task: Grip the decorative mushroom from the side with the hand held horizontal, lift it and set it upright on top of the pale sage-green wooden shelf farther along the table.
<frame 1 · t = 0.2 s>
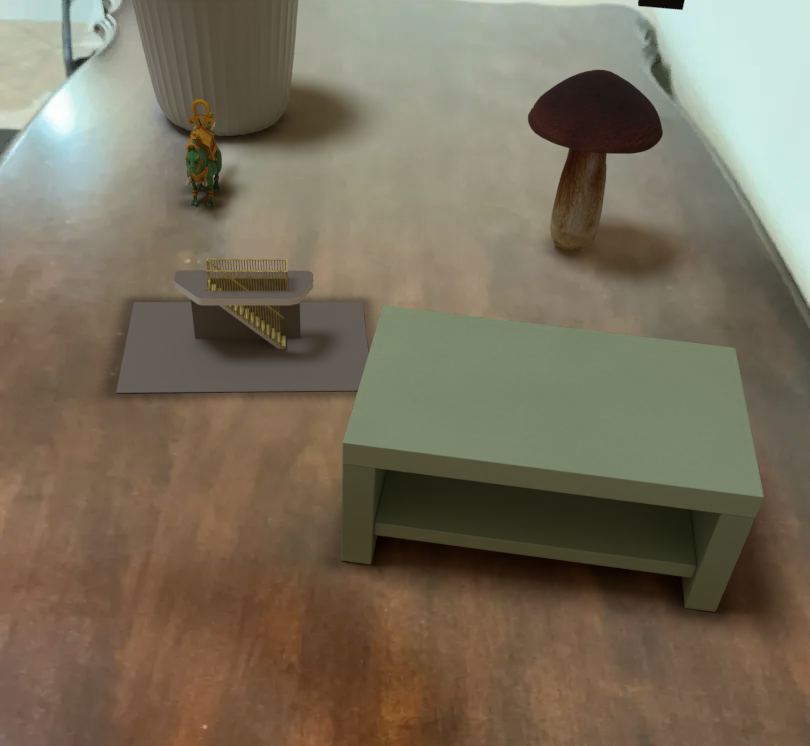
shelf: (531, 507, 62), on the table
decorative mushroom: (570, 250, 87), on the table
canister: (224, 119, 103), on the table
platform: (248, 346, 73), on the table
figurine: (207, 192, 91), on the table
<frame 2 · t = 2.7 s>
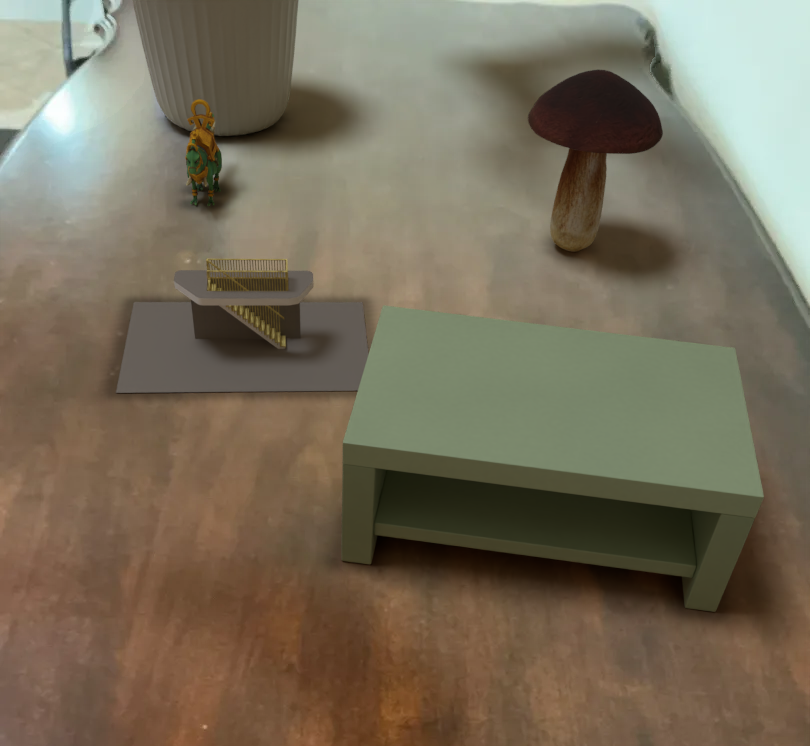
nothing on the table moved.
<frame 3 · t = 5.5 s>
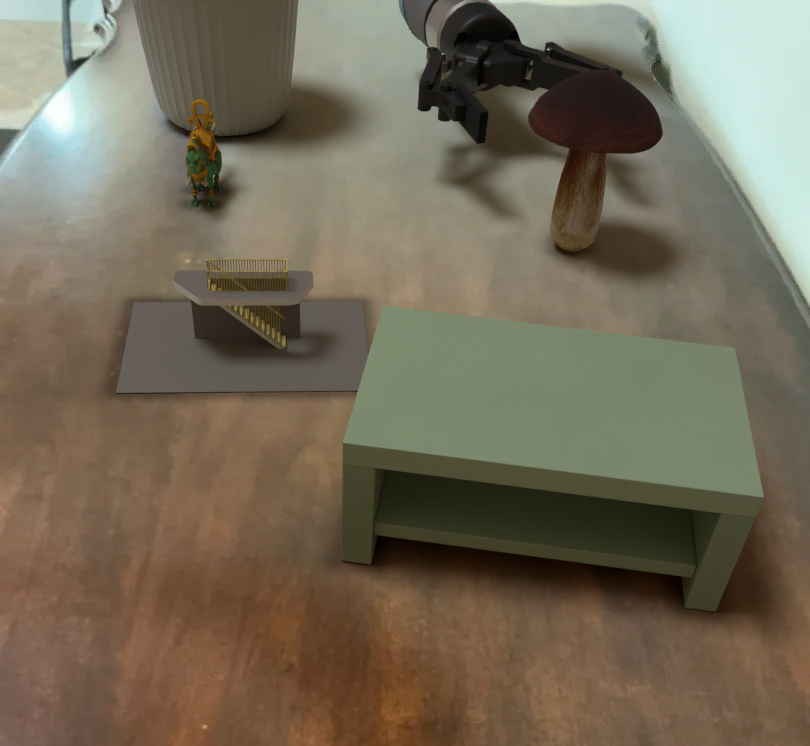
hand: (555, 123, 85), 8 cm above the table, tool horizontal, fingers open, 13 cm apart
nothing on the table moved.
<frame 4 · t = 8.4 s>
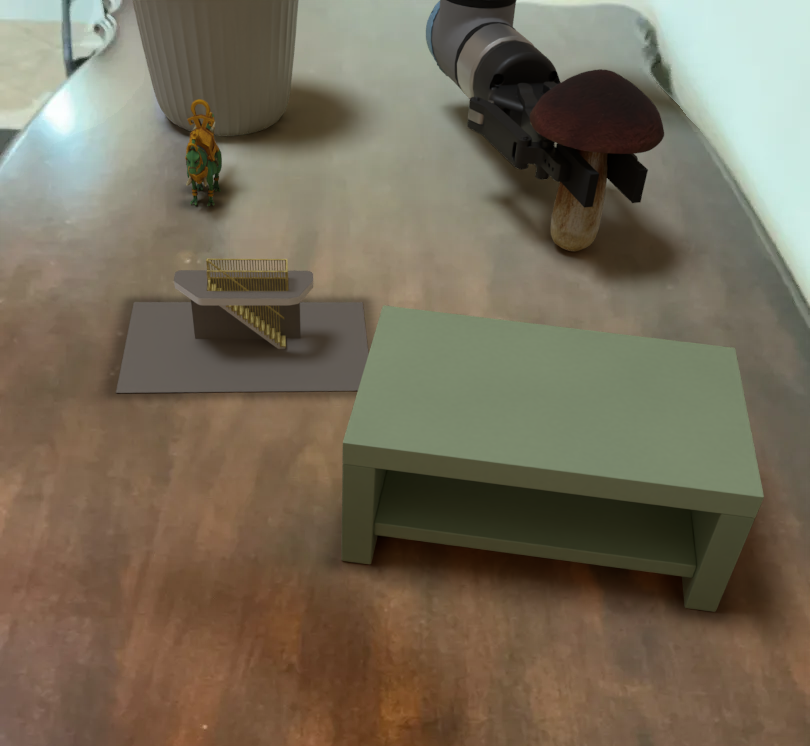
hand: (615, 188, 77), 8 cm above the table, tool horizontal, fingers closed on decorative mushroom, 4 cm apart
decorative mushroom: (570, 250, 87), on the table, touching gripper
everything else where it was.
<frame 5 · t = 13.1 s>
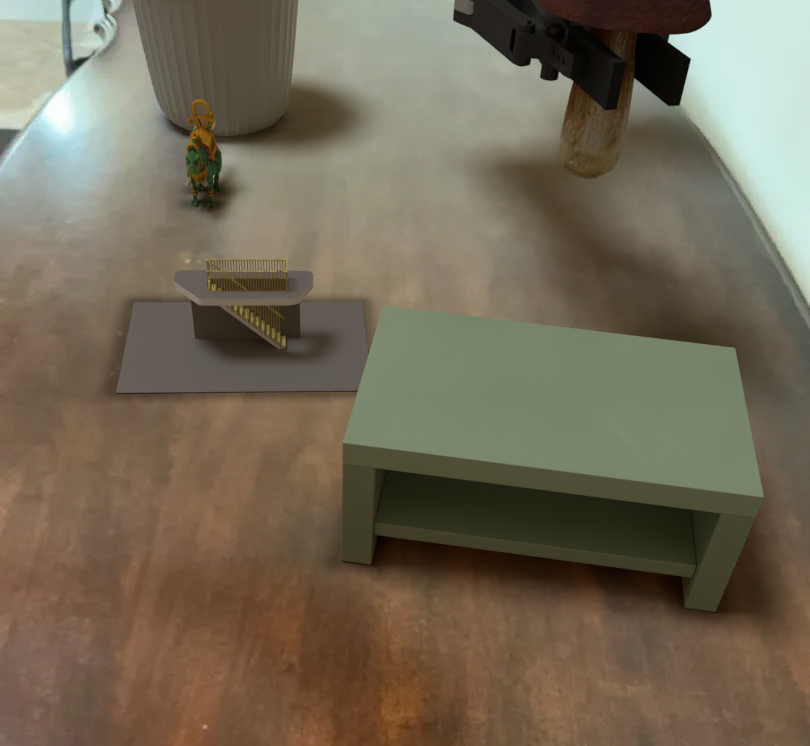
hand: (647, 84, 58), 21 cm above the table, tool horizontal, fingers closed on decorative mushroom, 4 cm apart
decorative mushroom: (584, 178, 67), point 13 cm above the table, touching gripper
everything else where it was.
when the fingers open (17 cm above the table, at t = 17.8 s): decorative mushroom stays where it is, resting on shelf.
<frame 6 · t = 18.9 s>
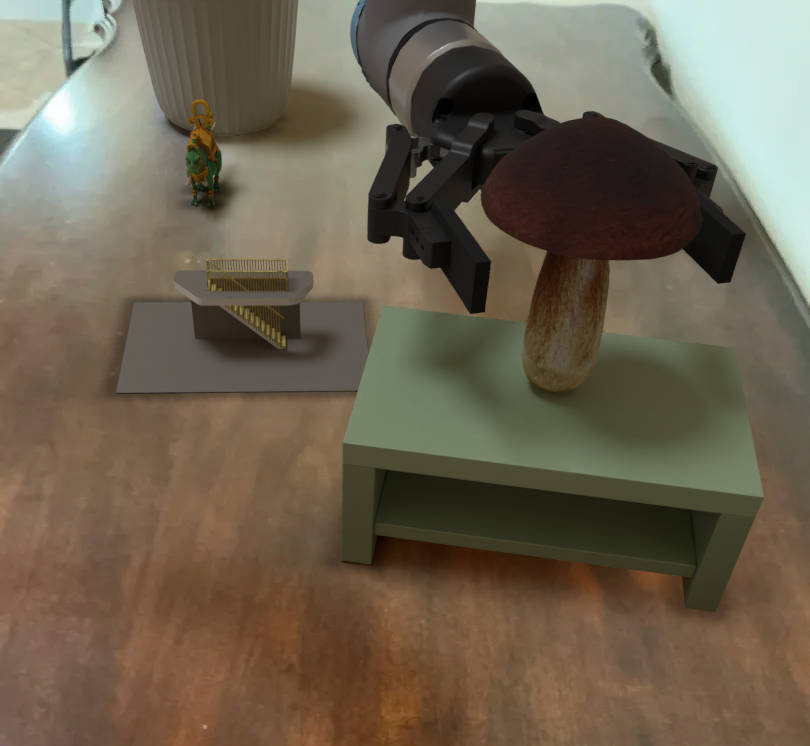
hand: (611, 273, 47), 18 cm above the table, tool horizontal, fingers open, 13 cm apart
decorative mushroom: (553, 388, 56), point 9 cm above the table, touching shelf
everything else where it was.
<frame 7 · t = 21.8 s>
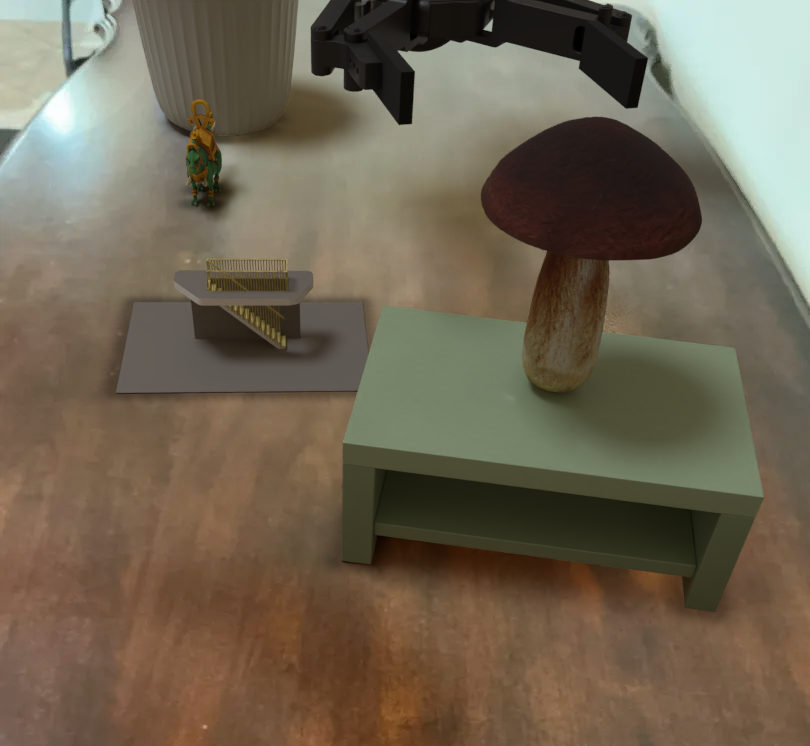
hand: (525, 91, 53), 22 cm above the table, tool horizontal, fingers open, 13 cm apart
nothing on the table moved.
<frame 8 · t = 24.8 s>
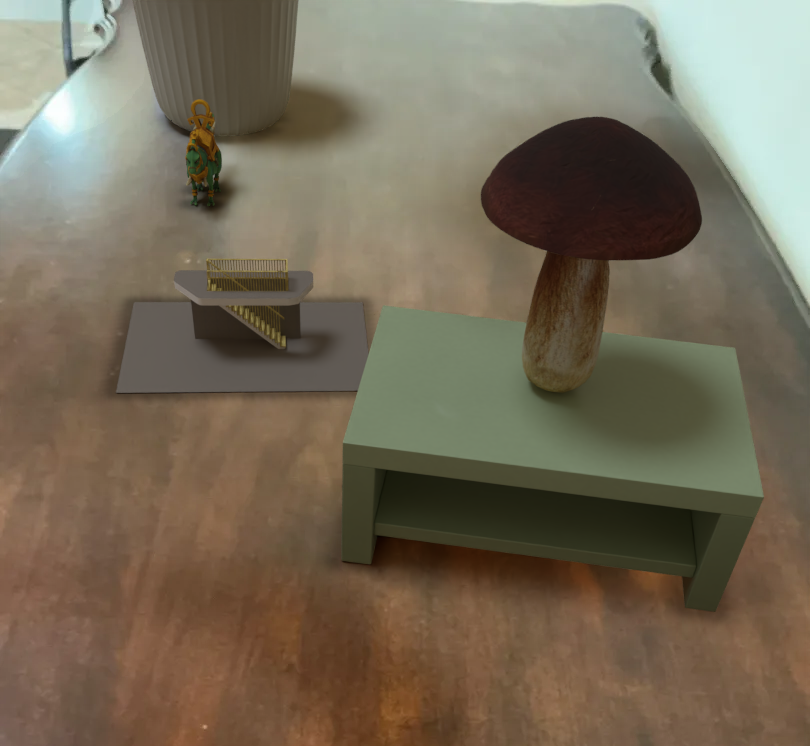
nothing on the table moved.
at the end: decorative mushroom inside the target area on the shelf (0.5 cm from its centre), point 8.8 cm above the shelf's base; decorative mushroom tilted 0°; the gripper is holding nothing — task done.
